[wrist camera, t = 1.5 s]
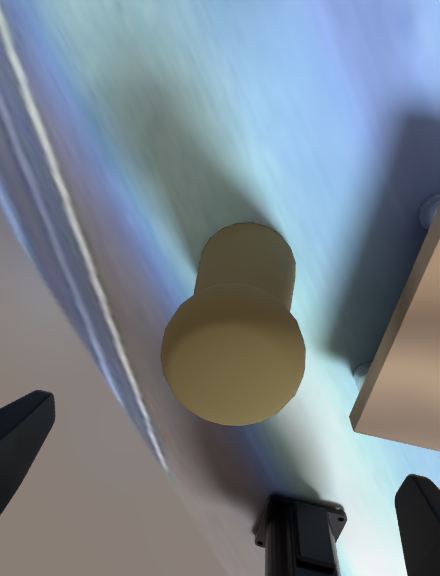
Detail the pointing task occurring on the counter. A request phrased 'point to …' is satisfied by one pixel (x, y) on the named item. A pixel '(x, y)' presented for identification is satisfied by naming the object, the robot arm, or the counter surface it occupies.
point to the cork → (237, 330)
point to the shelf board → (408, 361)
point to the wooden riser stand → (426, 219)
